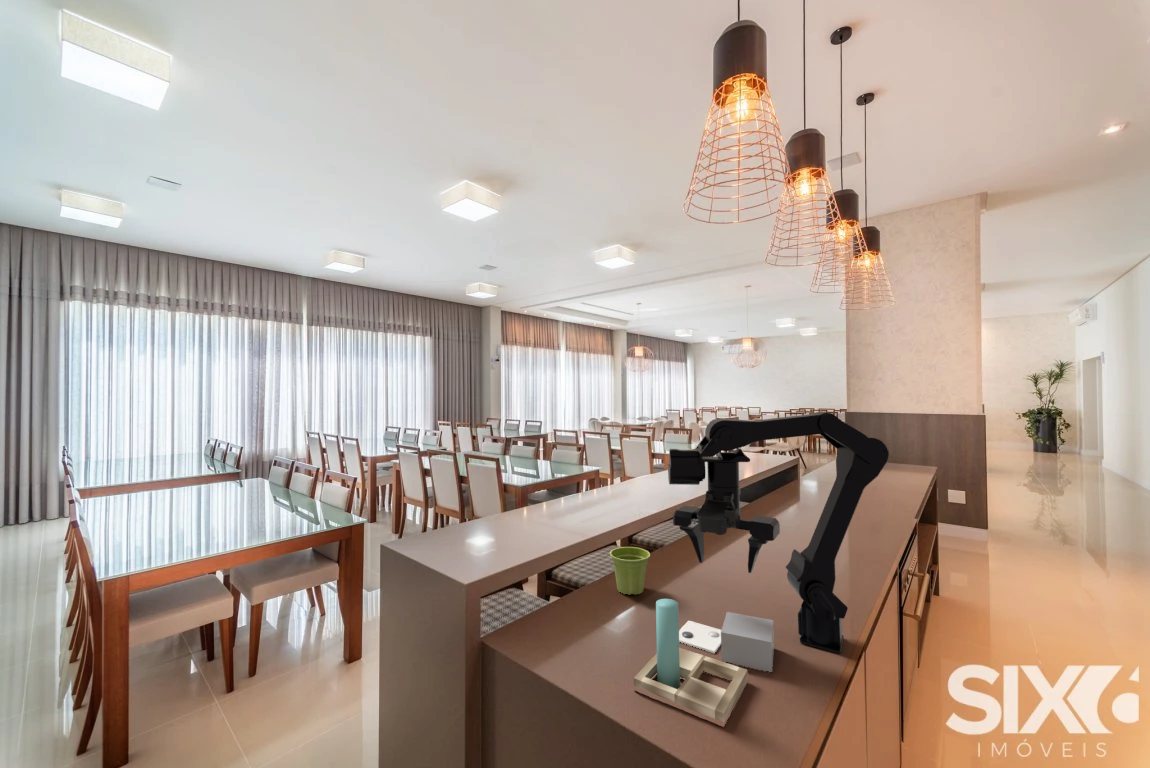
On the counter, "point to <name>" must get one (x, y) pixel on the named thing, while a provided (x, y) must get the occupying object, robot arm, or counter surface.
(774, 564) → the counter surface
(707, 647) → the pattern tile
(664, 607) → the pin
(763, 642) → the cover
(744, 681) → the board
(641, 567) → the plant pot
